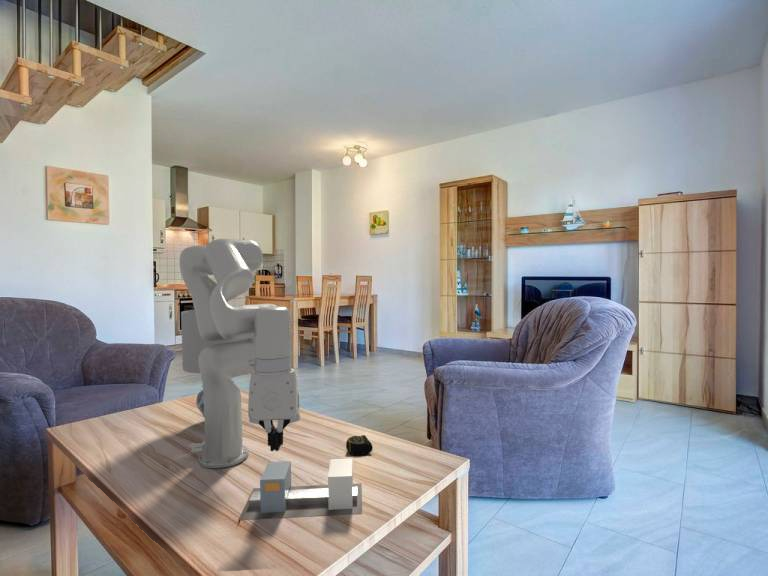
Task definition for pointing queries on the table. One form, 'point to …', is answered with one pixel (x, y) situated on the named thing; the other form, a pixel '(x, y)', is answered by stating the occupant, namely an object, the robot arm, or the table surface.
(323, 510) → the mounting board
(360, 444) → the tape measure
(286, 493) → the block
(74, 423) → the table surface
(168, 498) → the table surface
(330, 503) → the mounted module
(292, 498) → the rail
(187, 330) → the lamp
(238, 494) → the table surface
